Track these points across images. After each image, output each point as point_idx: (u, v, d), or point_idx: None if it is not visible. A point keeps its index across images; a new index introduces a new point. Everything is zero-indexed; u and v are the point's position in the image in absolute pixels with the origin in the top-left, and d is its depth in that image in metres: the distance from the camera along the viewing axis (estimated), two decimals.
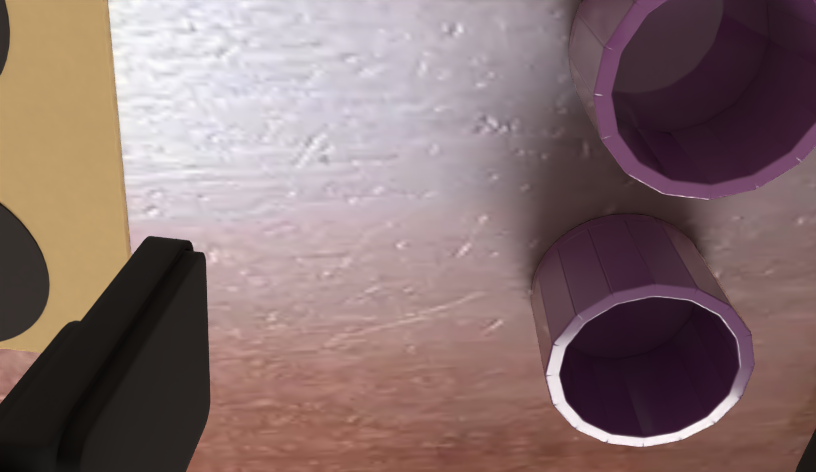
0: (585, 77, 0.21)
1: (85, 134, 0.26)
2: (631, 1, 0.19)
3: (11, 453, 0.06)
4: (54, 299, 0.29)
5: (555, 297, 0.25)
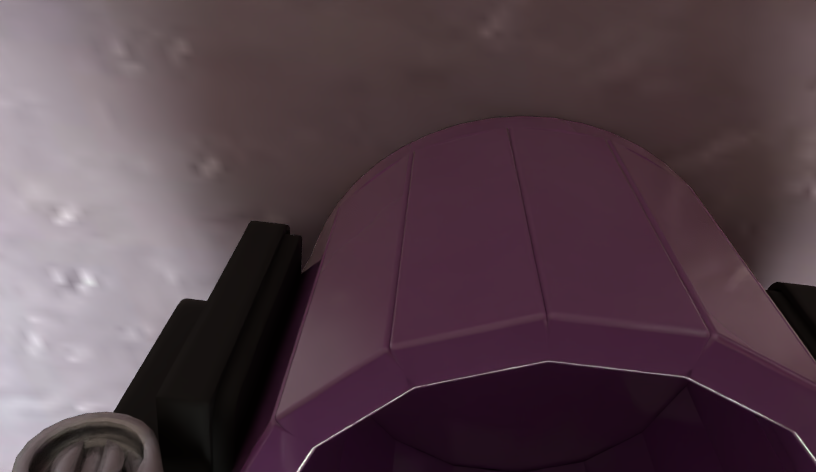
0: None
1: None
2: (275, 405, 0.07)
3: (177, 408, 0.07)
4: None
5: None
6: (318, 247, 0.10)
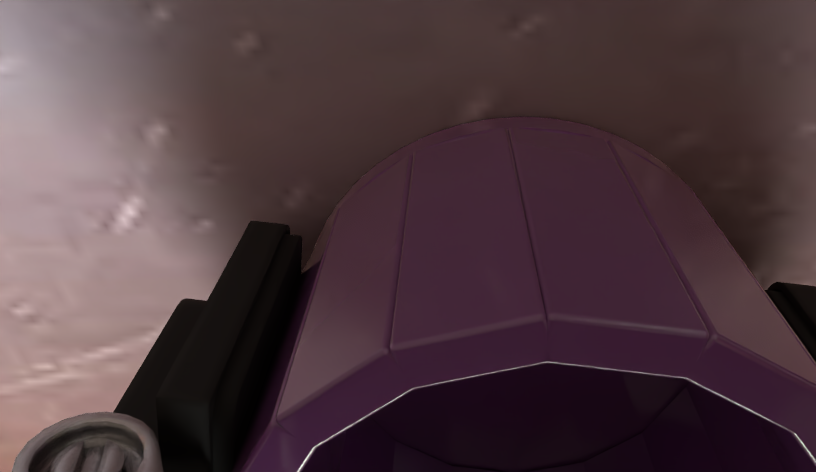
0: None
1: None
2: None
3: (176, 408, 0.07)
4: None
5: (283, 345, 0.08)
6: None
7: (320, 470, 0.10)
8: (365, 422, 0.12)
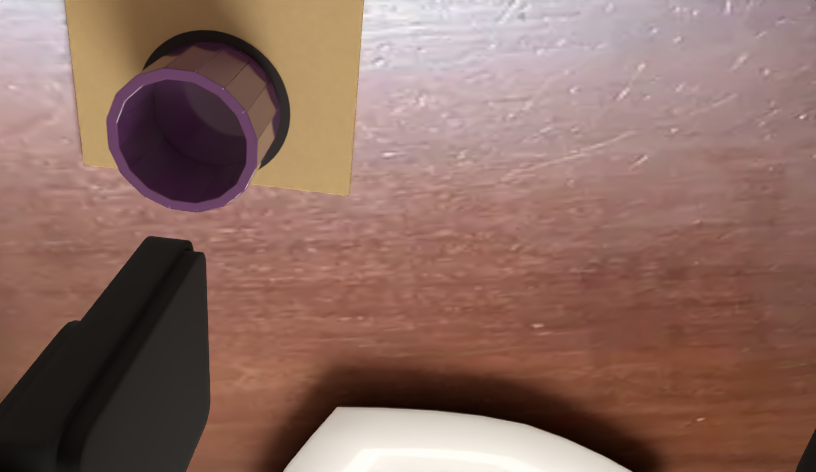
0: None
1: None
2: None
3: (11, 453, 0.06)
4: (290, 138, 0.37)
5: None
6: None
7: (143, 140, 0.34)
8: (167, 143, 0.36)
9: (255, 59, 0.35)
